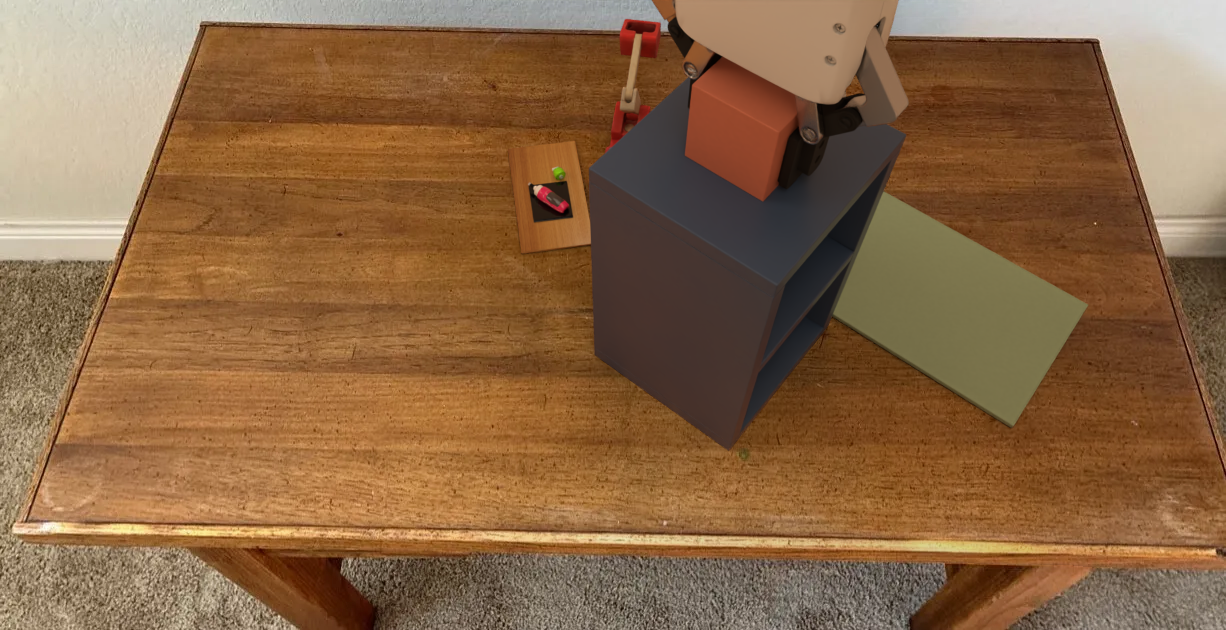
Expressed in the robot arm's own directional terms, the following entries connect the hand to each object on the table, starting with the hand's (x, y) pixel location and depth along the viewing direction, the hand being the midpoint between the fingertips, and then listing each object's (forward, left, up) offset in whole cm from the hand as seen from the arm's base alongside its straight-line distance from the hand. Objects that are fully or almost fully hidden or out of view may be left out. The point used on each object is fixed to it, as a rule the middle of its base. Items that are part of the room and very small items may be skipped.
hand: (751, 144), depth 50 cm
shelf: (0, 0, -22) cm, 22 cm away
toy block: (0, 0, 0) cm, 0 cm away
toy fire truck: (+18, -12, -23) cm, 31 cm away
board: (+20, -3, -23) cm, 30 cm away
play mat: (-12, -15, -22) cm, 30 cm away
